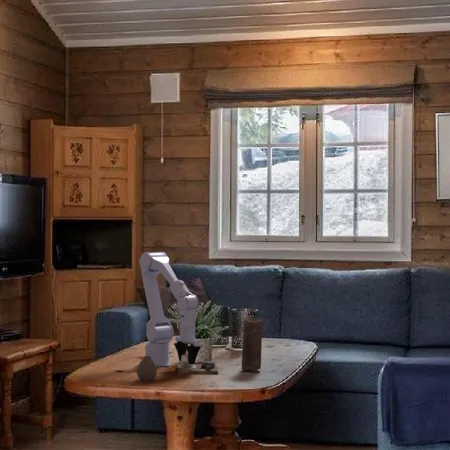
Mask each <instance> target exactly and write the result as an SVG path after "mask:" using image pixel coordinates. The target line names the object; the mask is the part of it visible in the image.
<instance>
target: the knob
mask: <svg viewBox="0 0 450 450" xmlns="http://www.w3.org/2000/svg"><path fill="white" fill-rule="evenodd" d="M180 364H181V367H185V368H190V367H193V364H192V365H190V364H189V360H188V353H187V352H186V353H184V354H182V355H181V362H180Z"/></svg>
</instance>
